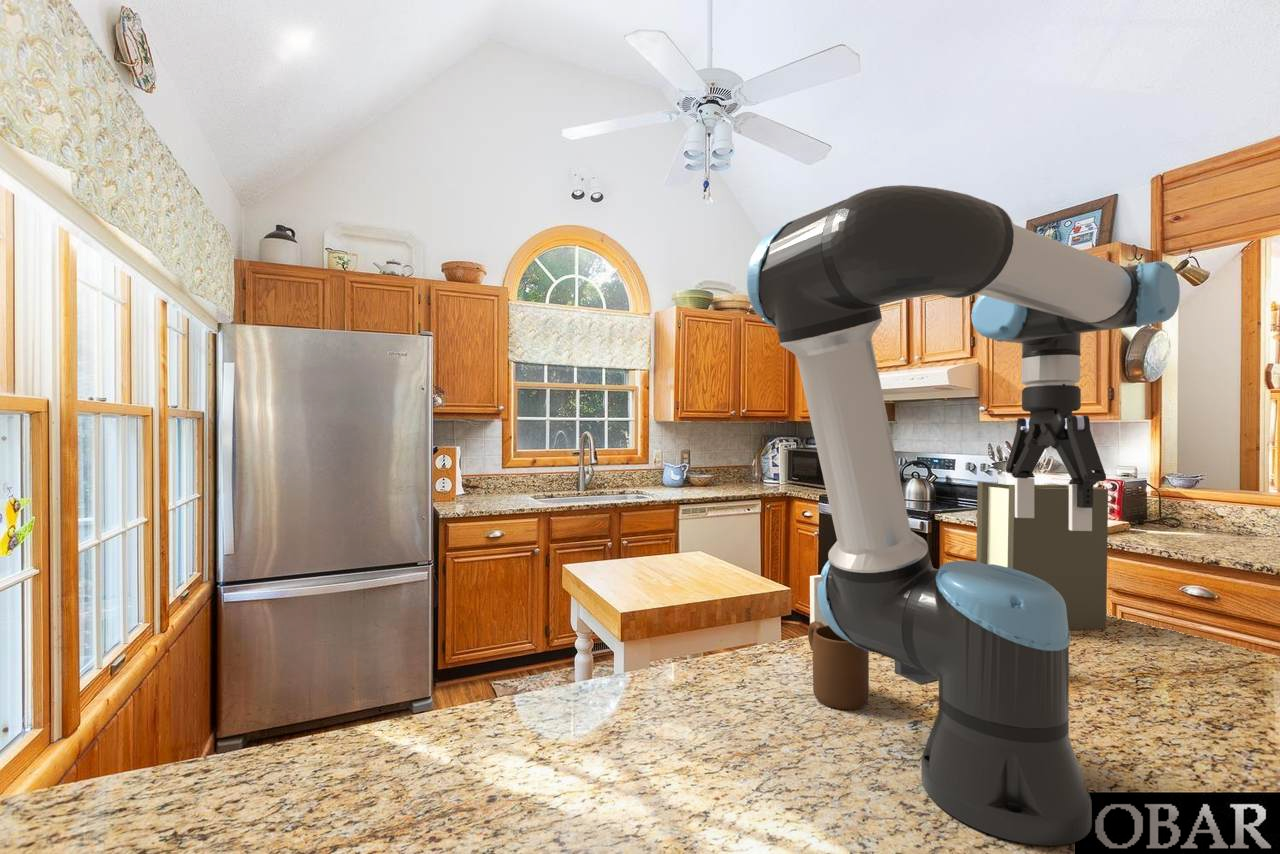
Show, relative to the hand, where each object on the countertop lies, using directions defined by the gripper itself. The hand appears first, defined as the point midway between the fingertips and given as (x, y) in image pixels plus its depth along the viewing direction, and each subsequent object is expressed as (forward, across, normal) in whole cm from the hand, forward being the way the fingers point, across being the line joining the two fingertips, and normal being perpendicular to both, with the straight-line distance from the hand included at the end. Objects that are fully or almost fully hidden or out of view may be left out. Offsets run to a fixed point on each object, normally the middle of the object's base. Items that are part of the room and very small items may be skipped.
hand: (1050, 523), depth 92 cm
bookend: (+24, +2, +16) cm, 29 cm away
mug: (+25, -6, +34) cm, 43 cm away
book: (+24, +27, -15) cm, 39 cm away
